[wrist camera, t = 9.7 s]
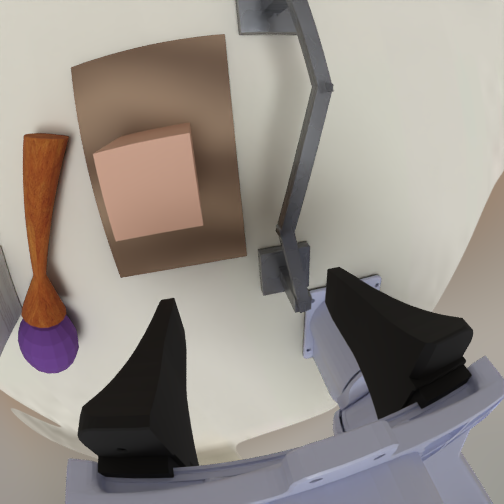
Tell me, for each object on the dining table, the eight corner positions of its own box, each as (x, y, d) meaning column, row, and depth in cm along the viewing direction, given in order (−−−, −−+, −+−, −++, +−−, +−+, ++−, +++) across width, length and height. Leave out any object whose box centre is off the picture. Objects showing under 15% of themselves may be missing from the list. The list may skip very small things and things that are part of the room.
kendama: (80, 145, 13) (80, 388, 20) (92, 135, 18) (81, 343, 25) (-8, 139, 10) (21, 382, 18) (23, 130, 15) (29, 338, 22)
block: (199, 188, 19) (203, 225, 14) (134, 200, 19) (115, 241, 14) (189, 122, 17) (189, 133, 12) (121, 136, 16) (92, 154, 11)
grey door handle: (305, 281, 26) (329, 321, 21) (261, 289, 25) (277, 334, 21) (292, -13, 13) (325, -40, 9) (234, -15, 13) (250, -48, 8)
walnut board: (245, 252, 23) (246, 255, 23) (122, 273, 22) (120, 277, 21) (223, 36, 15) (224, 34, 14) (74, 68, 14) (70, 67, 13)
